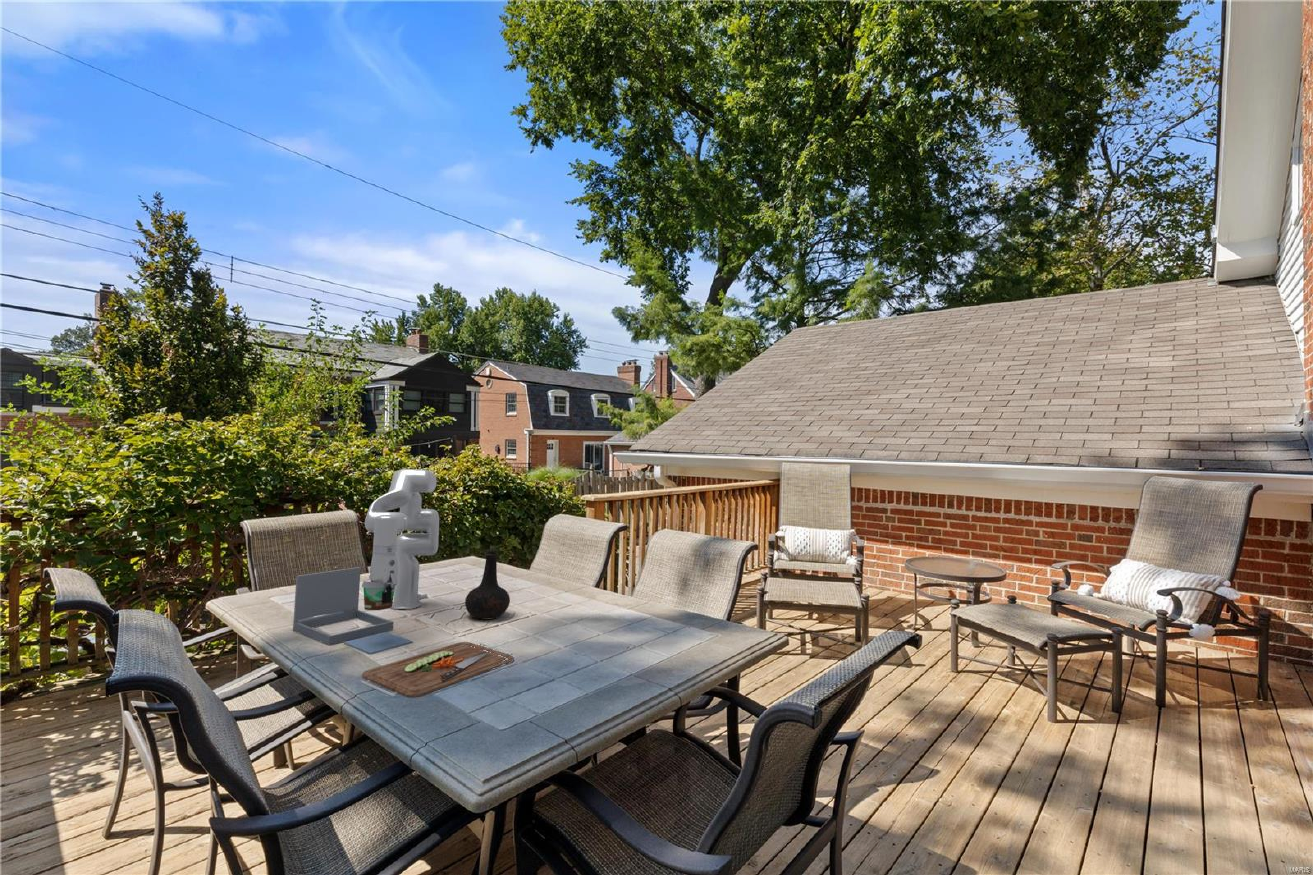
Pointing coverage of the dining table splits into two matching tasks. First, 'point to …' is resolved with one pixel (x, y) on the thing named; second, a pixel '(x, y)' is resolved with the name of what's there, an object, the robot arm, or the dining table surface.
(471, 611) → the glass bottle
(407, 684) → the chopping board
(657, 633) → the dining table surface
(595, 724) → the dining table surface
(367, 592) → the food container
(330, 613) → the case
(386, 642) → the mat
